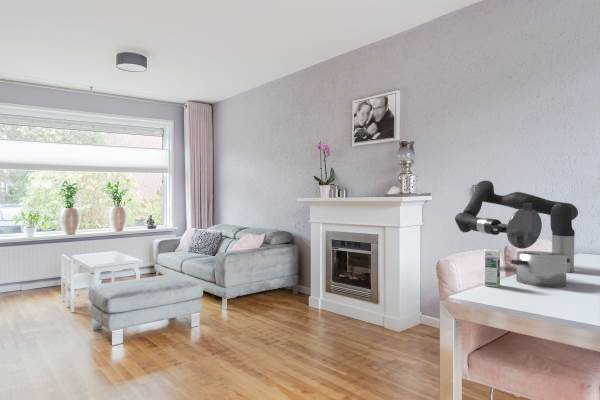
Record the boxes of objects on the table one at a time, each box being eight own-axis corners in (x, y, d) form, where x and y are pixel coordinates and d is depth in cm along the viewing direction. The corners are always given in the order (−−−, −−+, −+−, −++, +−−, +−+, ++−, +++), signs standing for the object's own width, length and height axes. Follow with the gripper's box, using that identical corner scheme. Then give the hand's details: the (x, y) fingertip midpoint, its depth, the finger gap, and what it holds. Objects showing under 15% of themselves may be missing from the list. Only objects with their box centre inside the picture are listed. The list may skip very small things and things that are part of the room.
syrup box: (483, 286, 161) (484, 249, 161) (483, 283, 167) (483, 248, 167) (499, 287, 159) (500, 250, 159) (498, 284, 165) (499, 249, 164)
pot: (497, 279, 174) (497, 251, 174) (547, 276, 182) (548, 250, 182) (532, 289, 157) (532, 258, 157) (586, 285, 165) (586, 256, 165)
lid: (506, 249, 176) (504, 248, 177) (538, 248, 181) (536, 247, 182) (512, 203, 173) (510, 203, 174) (545, 204, 178) (542, 203, 179)
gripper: (499, 232, 200) (530, 237, 184) (478, 235, 195) (509, 240, 179) (499, 217, 200) (530, 221, 184) (478, 219, 195) (509, 223, 179)
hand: (520, 230), depth 181 cm, fingers closed
